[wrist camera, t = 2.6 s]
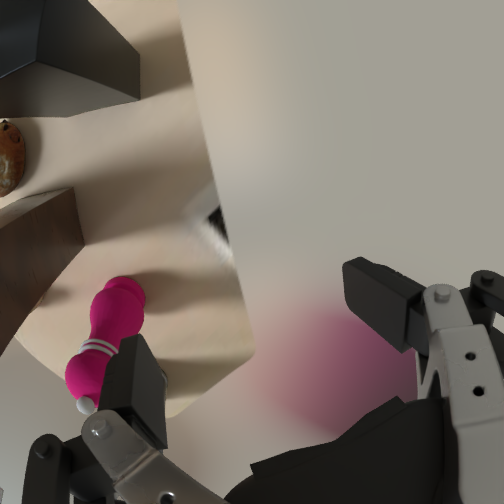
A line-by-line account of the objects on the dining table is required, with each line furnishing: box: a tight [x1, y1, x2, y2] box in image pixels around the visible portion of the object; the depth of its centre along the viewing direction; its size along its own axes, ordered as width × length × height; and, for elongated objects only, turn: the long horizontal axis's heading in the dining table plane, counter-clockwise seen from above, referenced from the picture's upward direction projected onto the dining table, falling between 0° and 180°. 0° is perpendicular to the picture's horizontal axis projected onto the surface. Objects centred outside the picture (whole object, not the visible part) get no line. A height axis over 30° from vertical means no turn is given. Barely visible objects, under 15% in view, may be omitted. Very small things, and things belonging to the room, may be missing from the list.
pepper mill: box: [65, 277, 145, 414], centre depth 28 cm, size 7×7×20 cm
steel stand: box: [0, 0, 140, 119], centre depth 15 cm, size 6×10×22 cm, turn 92°
